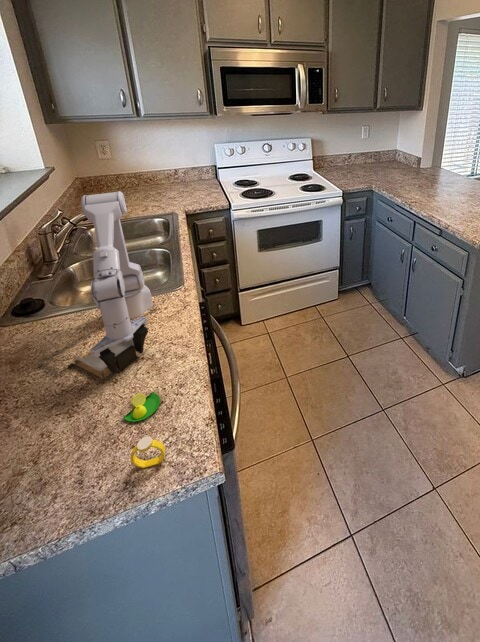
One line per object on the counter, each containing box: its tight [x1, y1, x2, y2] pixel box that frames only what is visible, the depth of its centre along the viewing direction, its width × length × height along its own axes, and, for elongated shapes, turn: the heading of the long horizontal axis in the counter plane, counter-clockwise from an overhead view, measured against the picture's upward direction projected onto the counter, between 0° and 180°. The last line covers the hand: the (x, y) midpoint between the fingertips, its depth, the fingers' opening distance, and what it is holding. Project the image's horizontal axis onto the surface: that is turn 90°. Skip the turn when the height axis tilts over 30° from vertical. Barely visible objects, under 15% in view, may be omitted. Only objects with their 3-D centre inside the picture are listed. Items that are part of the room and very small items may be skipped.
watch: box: [130, 435, 166, 469], centre depth 71 cm, size 6×3×6 cm, turn 103°
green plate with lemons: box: [123, 392, 161, 422], centre depth 83 cm, size 8×8×3 cm
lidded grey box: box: [72, 339, 144, 380], centre depth 98 cm, size 14×12×5 cm
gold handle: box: [67, 362, 76, 369], centre depth 101 cm, size 1×15×1 cm, turn 154°
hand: (127, 361), depth 95 cm, fingers open, 7 cm apart
